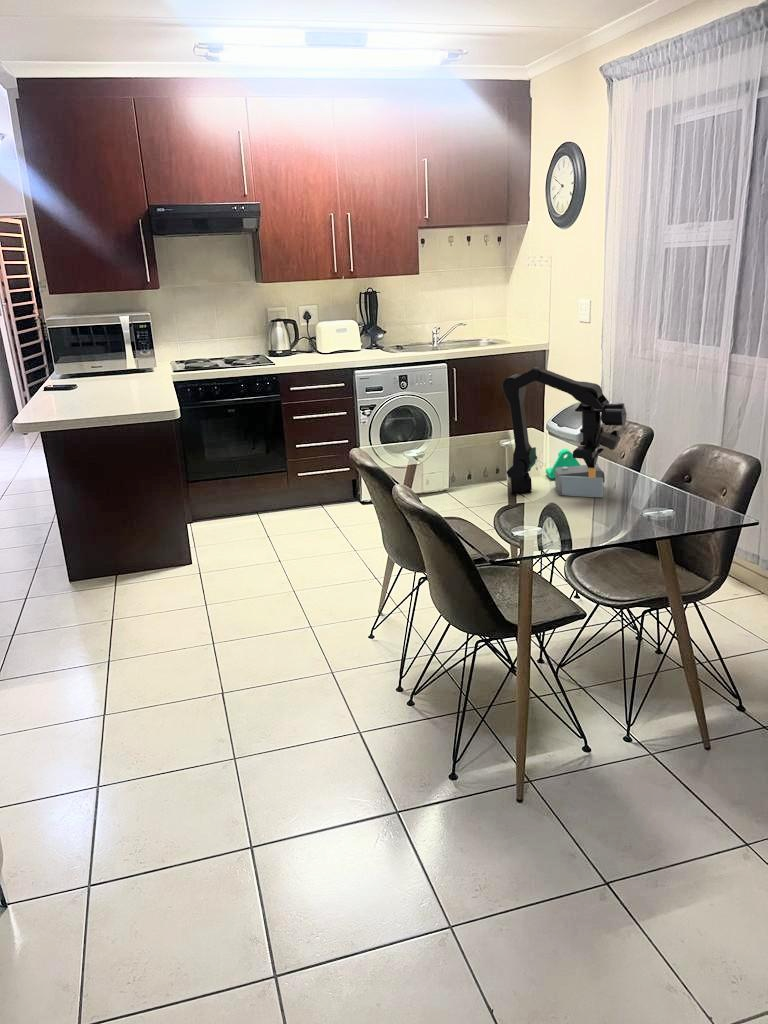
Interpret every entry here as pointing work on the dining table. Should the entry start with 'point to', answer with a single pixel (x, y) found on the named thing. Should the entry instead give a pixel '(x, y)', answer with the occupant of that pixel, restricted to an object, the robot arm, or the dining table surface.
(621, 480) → the dining table surface
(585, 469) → the camera body
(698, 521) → the dining table surface
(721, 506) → the dining table surface
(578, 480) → the side door
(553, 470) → the camera mount
